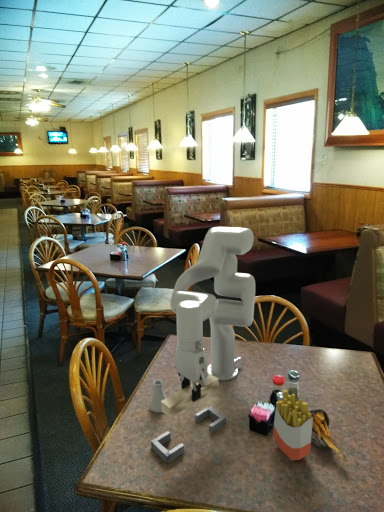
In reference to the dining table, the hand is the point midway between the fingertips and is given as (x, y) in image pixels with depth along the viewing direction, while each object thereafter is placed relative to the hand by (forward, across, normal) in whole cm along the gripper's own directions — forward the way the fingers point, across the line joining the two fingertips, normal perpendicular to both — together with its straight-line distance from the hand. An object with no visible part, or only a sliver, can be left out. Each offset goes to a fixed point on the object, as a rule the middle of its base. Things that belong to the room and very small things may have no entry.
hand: (191, 395), depth 113 cm
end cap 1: (+15, +1, +9) cm, 18 cm away
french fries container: (+15, -25, -17) cm, 34 cm away
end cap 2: (+15, 0, -9) cm, 17 cm away
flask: (+15, +18, -1) cm, 24 cm away
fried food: (+15, -30, -27) cm, 43 cm away
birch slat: (+1, 0, 0) cm, 1 cm away
